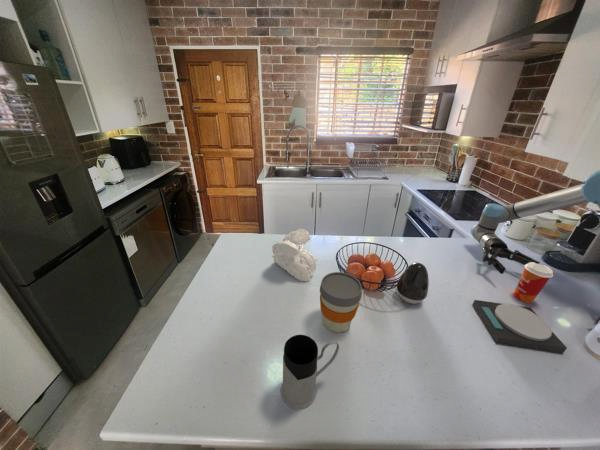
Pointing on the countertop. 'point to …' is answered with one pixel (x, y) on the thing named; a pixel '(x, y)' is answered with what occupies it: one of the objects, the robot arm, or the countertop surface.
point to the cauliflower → (295, 255)
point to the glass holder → (302, 370)
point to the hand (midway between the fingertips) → (522, 273)
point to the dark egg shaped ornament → (413, 283)
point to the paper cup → (532, 281)
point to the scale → (517, 326)
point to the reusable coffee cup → (339, 300)
